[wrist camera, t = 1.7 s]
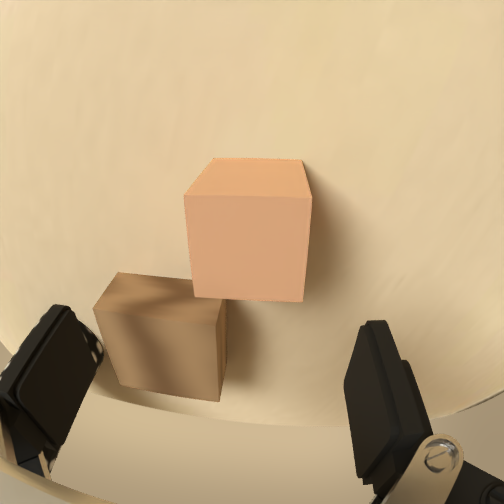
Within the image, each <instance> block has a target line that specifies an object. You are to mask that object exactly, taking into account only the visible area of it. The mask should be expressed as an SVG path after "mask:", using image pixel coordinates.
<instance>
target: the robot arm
mask: <svg viewBox="0 0 504 504" xmlns="http://www.w3.org/2000/svg"><path fill="white" fill-rule="evenodd" d="M96 369H97V365H96V362H95V360H94V357H93V355H92V353H91V351H90V349H89V346H88V344H87V342H86V340H85V337H84V335H83V333H82V330H81V328H80V325H79V323H78V320H77V318H76V315H75V313H74V312H73V311H72V310H71V308H70V307H69V306H64V305H57V304H55V305H53V306H51V308H50V309H49V310H48V312H47V313H46V314H45V316H44V317H43V318H42V320H41V321H40V322H39V324H38V325H37V327H36V328H35V329H34V331H33V332H32V334H31V335H30V336H29V338H28V339H27V341H26V342H25V343H24V345H23V346H22V348H21V349H20V351H19V352H18V354H17V355H16V357H15V358H14V360H13V361H12V363H11V364H10V366H9V367H8V369H7V370H6V372H5V374H4V375H3V377H2V378H1V380H0V504H117V503H113V502H109V501H106V500H103V499H100V498H96V497H94V496H90V495H88V494H84V493H82V492H79V491H76V490H74V489H71V488H68V487H66V486H63V485H61V484H58V483H56V482H53V481H52V479H51V476H50V473H49V470H48V467H47V464H46V461H45V458H44V454H43V451H42V450H43V447H44V445H45V446H46V447H47V448H49V449H52V450H54V451H57V452H58V450H59V448H60V446H61V445H63V444H64V442H65V440H66V438H67V436H68V433H69V431H70V429H71V426H72V424H73V422H74V419H75V417H76V414H77V412H78V410H79V408H80V406H81V403H82V401H83V399H84V397H85V395H86V392H87V390H88V388H89V386H90V384H91V382H92V379H93V377H94V375H95V373H96ZM344 394H345V399H346V405H347V412H348V418H349V424H350V431H351V437H352V444H353V451H354V459H355V466H356V473H357V476H358V478H362V479H363V485H368V484H373V489H374V493H375V494H376V495H375V496H374V498H373V499H372V501H371V502H370V503H369V504H504V482H503V481H502V480H500V479H498V478H496V477H494V476H492V475H490V474H488V473H487V472H485V471H483V470H481V469H479V468H477V467H475V466H473V465H471V464H470V463H468V462H466V461H464V453H463V450H462V447H461V446H460V444H459V443H458V441H457V440H455V439H454V438H453V437H451V436H449V435H445V434H435V435H433V432H432V428H431V425H430V422H429V418H428V415H427V412H426V409H425V406H424V403H423V400H422V397H421V394H420V391H419V388H418V386H417V383H416V380H415V377H414V374H413V372H412V369H411V366H410V364H409V362H408V361H407V360H401V358H400V355H399V353H398V350H397V347H396V345H395V342H394V339H393V337H392V334H391V331H390V329H389V326H388V324H387V322H386V321H385V320H371V321H367V322H366V324H365V325H362V326H360V329H359V332H358V336H357V340H356V343H355V346H354V350H353V353H352V357H351V360H350V363H349V366H348V369H347V373H346V376H345V379H344Z"/></svg>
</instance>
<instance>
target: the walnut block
mask: <svg viewBox="0 0 504 504" xmlns="http://www.w3.org/2000/svg"><path fill="white" fill-rule="evenodd" d="M93 311H94V314H95V317H96V320H97V323H98V327H99V329H100V332H101V335H102V338H103V341H104V344H105V347H106V350H107V352H108V355H109V358H110V360H111V363H112V366H113V368H114V371H115V373H116V376H117V378H118V381H119V383H120V385H123V386H127V387H132V388H136V389H141V390H146V391H151V392H156V393H162V394H167V395H173V396H179V397H185V398H192V399H199V400H206V401H214V402H219V401H220V396H221V390H222V385H223V379H224V374H225V368H226V363H227V344H226V299H217V298H201V297H195V295H194V288H193V280H187V279H177V278H167V277H157V276H148V275H138V274H129V273H120V272H118V273H117V275H116V276H115V277H114V279H113V280H112V281H111V283H110V284H109V286H108V287H107V289H106V290H105V291H104V293H103V294H102V296H101V297H100V299H99V300H98V301H97V303H96V304H95V306H94V307H93Z"/></svg>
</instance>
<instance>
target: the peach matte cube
mask: <svg viewBox="0 0 504 504" xmlns="http://www.w3.org/2000/svg"><path fill="white" fill-rule="evenodd" d="M184 205H185V215H186V226H187V236H188V245H189V254H190V263H191V271H192V280H193V288H194V295H195V297H201V298H217V299H236V300H257V301H282V302H303V294H304V285H305V275H306V266H307V255H308V245H309V233H310V222H311V209H312V195H311V191H310V188H309V184H308V181H307V177H306V174H305V170H304V167H303V163H302V160H294V159H263V158H213V159H212V161H211V162H210V163H209V164H208V165H207V167H206V168H205V169H204V170H203V172H202V173H201V174H200V175H199V177H198V178H197V179H196V180H195V182H194V183H193V184H192V185H191V187H190V188H189V189H188V190H187V192H186V193H185V194H184Z"/></svg>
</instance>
